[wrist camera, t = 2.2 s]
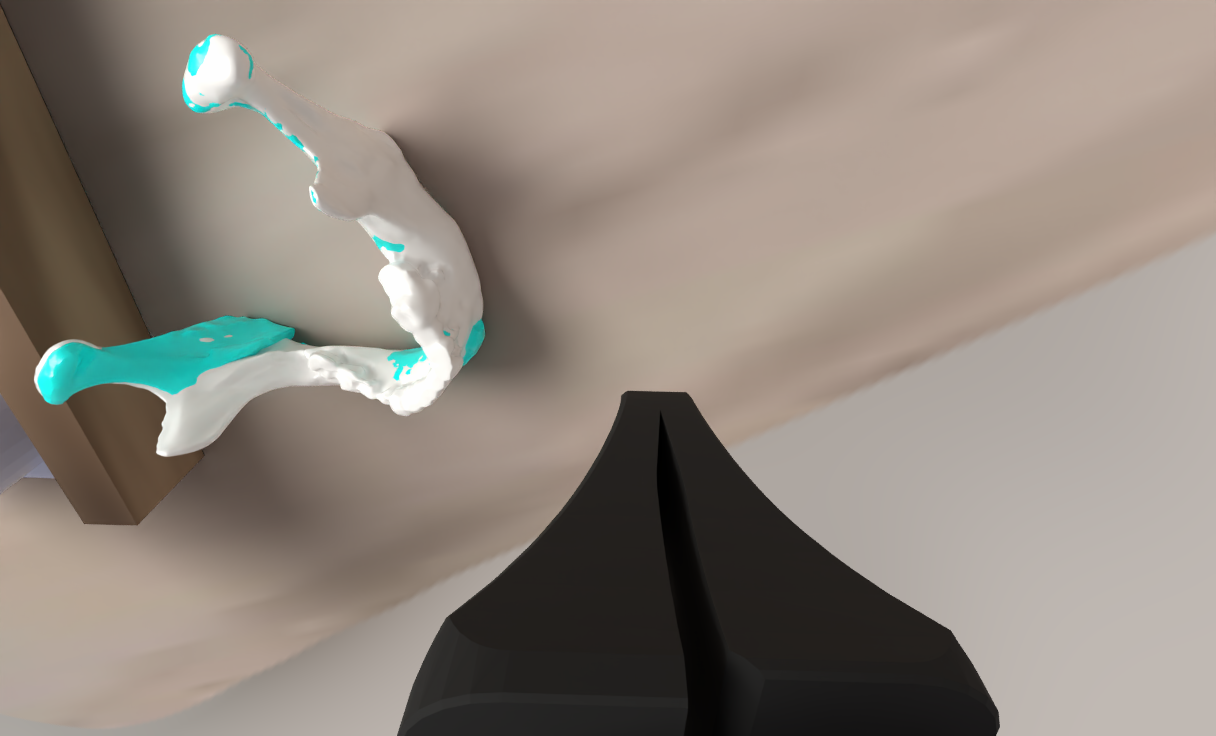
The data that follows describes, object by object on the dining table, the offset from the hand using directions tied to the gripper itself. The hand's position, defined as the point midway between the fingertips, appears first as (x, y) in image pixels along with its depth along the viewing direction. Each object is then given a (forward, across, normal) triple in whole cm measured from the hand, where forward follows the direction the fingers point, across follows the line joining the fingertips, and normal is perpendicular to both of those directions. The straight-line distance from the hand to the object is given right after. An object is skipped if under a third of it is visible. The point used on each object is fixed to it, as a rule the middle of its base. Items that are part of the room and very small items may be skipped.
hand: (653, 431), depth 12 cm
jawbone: (+10, +10, 0) cm, 14 cm away
